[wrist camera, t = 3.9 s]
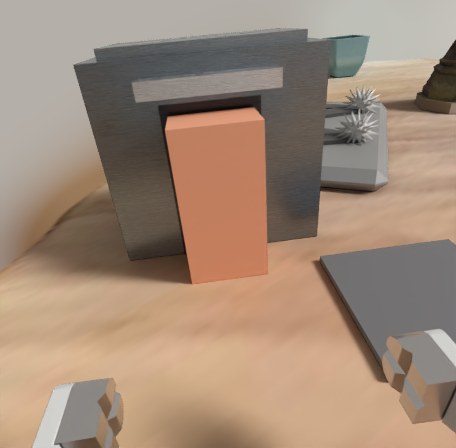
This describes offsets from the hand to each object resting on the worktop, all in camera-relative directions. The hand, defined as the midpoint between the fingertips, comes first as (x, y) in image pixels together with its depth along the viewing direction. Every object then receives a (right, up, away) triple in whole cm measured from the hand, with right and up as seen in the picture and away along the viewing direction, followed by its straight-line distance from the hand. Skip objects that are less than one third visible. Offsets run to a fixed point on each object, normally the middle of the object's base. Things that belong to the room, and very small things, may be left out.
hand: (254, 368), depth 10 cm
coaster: (+10, 0, +9) cm, 14 cm away
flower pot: (+29, +43, +77) cm, 93 cm away
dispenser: (-1, +5, +19) cm, 19 cm away
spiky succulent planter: (+9, +15, +36) cm, 40 cm away
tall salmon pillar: (-1, +1, +13) cm, 13 cm away
